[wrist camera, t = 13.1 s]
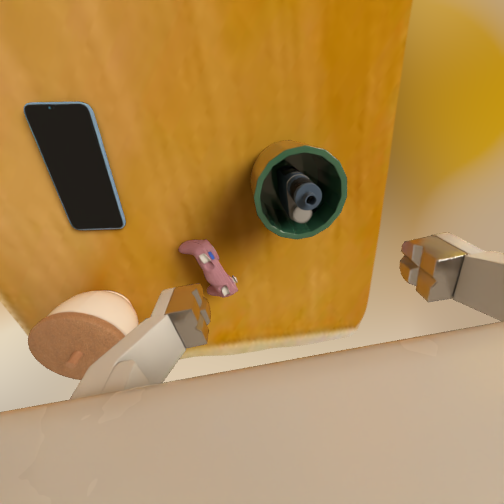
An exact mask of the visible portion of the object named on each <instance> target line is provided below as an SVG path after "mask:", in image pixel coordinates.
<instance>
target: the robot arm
mask: <svg viewBox="0 0 504 504" xmlns="http://www.w3.org/2000/svg"><path fill="white" fill-rule="evenodd" d="M401 251H402V253H403V254H404V257H403V258H402V259H401V260H400V271H401V275H402V276H403V278H404V279H405V280H406V281H407V282H408V283H409V284H412V285H415V286H416V291H417V292H418V293H419V294H420V295H421V296H422V297H423V298H424V299H425V300H426V301H427V302H433V301H439V300H445V299H451V298H453V300H455V301H458V302H460V303H462V304H464V305H466V306H469V307H471V308H474V309H475V310H478V311H480V312H482V313H484V314H486V315H489V316H491V317H493V318H495V319H498V320H500V321H502V322H497V323H492V324H486V325H481V326H475V327H469V328H464V329H458V330H453V331H448V332H441V333H436V334H430V335H424V336H419V337H413V338H408V339H403V340H397V341H391V342H386V343H380V344H375V345H369V346H364V347H358V348H353V349H347V350H341V351H336V352H330V353H325V354H319V355H314V356H308V357H303V358H297V359H292V360H286V361H281V362H275V363H270V364H265V365H259V366H253V367H248V368H243V369H237V370H231V371H226V372H220V373H215V374H209V375H204V376H198V377H192V378H187V379H181V380H176V381H170V382H165V383H163V381H164V380H165V378H166V377H167V376H168V374H169V373H170V371H171V370H172V369H173V367H174V366H175V364H176V363H177V362H178V360H179V359H180V357H181V356H182V355H183V353H184V352H185V350H186V348H191V347H195V346H200V345H204V344H207V341H208V334H209V329H208V327H207V325H208V324H209V322H210V319H211V311H210V306H209V302H208V300H207V299H206V298H205V297H203V294H204V290H203V287H202V285H201V284H200V283H196V284H191V285H185V286H180V287H176V288H175V287H174V288H169V289H165V290H163V291H162V292H161V294H160V296H159V299H158V301H157V303H156V305H155V308H154V310H153V312H152V314H151V317H150V318H147V319H145V320H144V321H143V322H142V323H140V324H139V325H138V326H137V327H136V328H134V329H133V330H132V331H131V332H130V333H128V334H127V335H126V336H125V337H124V338H123V339H121V340H120V341H119V342H118V343H117V344H115V345H114V346H113V347H112V348H111V349H110V350H108V351H107V352H106V353H105V354H104V355H102V356H101V357H100V358H99V359H98V360H96V361H95V362H94V363H93V364H92V365H91V366H89V368H88V370H87V371H86V373H85V375H84V376H83V378H82V380H81V381H80V383H79V385H78V387H77V388H76V390H75V391H74V393H73V395H72V396H71V398H70V400H65V401H60V402H54V403H49V404H43V405H38V406H32V407H27V408H21V409H15V410H10V411H4V412H0V504H504V253H499V252H494V251H486V252H485V251H483V250H481V249H479V248H478V247H476V246H474V245H472V244H470V243H468V242H466V241H464V240H463V239H460V238H459V237H457V236H455V235H453V234H451V233H447V232H444V233H439V234H435V235H431V236H428V237H423V238H419V239H414V240H410V241H405V242H404V243H403V245H402V250H401Z"/></svg>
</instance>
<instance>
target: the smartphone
mask: <svg viewBox="0 0 504 504" xmlns="http://www.w3.org/2000/svg"><path fill="white" fill-rule="evenodd" d="M24 114H25V117H26V119H27V121H28V124H29V126H30V129H31V131H32V133H33V136H34V138H35V140H36V143H37V145H38V148H39V150H40V152H41V155H42V157H43V160H44V162H45V164H46V167H47V169H48V172H49V174H50V176H51V179H52V181H53V184H54V186H55V188H56V191H57V193H58V195H59V198H60V200H61V203H62V205H63V207H64V210H65V212H66V215H67V217H68V219H69V222H70V224H71V225H72V227H73V228H75V229H77V230H102V229H120V228H123V227H124V226H125V224H126V221H125V217H124V213H123V210H122V206H121V203H120V200H119V196H118V193H117V190H116V186H115V183H114V179H113V176H112V173H111V169H110V166H109V162H108V159H107V155H106V152H105V149H104V146H103V142H102V139H101V135H100V132H99V129H98V125H97V122H96V118H95V115H94V112H93V110H92V108H91V107H90V106H89V105H88V104H86V103H83V102H36V103H27V104H26V105H25V106H24Z"/></svg>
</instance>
